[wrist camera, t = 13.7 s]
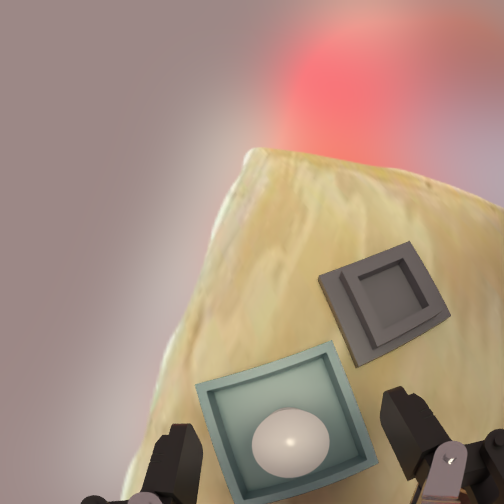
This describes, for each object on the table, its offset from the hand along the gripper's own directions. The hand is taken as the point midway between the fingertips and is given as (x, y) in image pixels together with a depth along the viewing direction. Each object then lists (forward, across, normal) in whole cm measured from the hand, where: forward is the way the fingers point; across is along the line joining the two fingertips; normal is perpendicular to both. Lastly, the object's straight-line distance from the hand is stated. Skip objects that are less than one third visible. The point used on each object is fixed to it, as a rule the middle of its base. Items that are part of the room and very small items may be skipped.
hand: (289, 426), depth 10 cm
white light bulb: (+9, 0, +11) cm, 14 cm away
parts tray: (+9, 0, +12) cm, 15 cm away
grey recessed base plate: (+17, -12, +4) cm, 21 cm away
